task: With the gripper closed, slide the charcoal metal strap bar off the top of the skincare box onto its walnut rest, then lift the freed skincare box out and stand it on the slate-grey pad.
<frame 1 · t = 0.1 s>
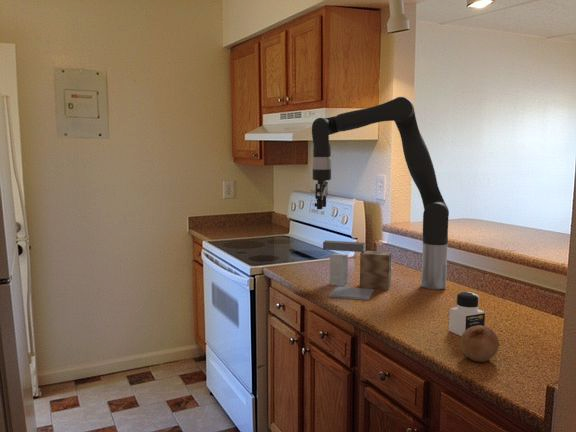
hand: (321, 208, 217), 29 cm above the worktop, tool pointing down, fingers open, 8 cm apart
onion: (478, 359, 138), on the worktop
medicine bottle: (466, 333, 157), on the worktop
strap bar: (344, 246, 208), point 15 cm above the worktop, slide at 0.0 cm
skincare box: (338, 284, 211), on the worktop
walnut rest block: (375, 287, 207), on the worktop
slate pad: (352, 294, 197), on the worktop
teacup: (381, 279, 220), on the worktop
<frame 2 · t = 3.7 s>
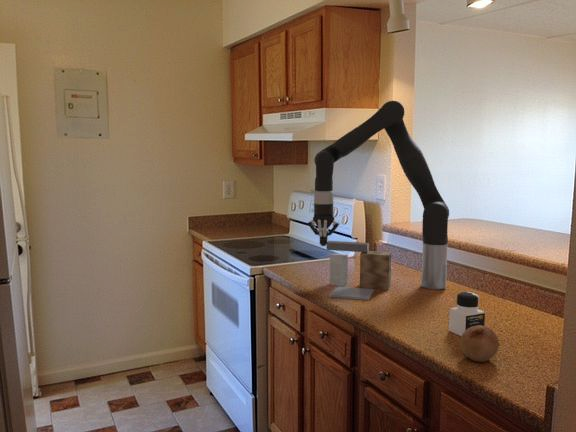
hand: (323, 245, 211), 15 cm above the worktop, tool pointing down, fingers closed
strap bar: (347, 246, 208), point 16 cm above the worktop, slide at 1.5 cm, touching gripper
everything else where it was.
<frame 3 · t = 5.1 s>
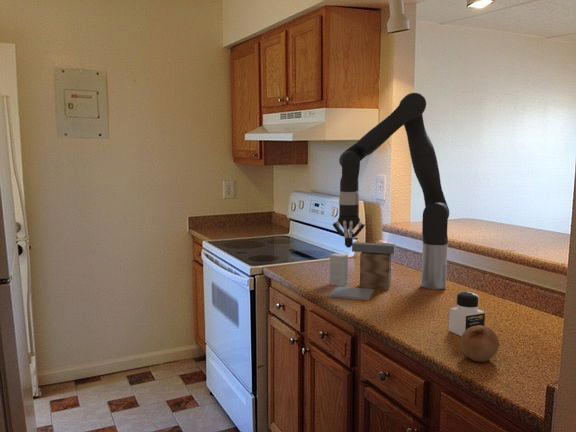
hand: (348, 247, 208), 15 cm above the worktop, tool pointing down, fingers closed
strap bar: (373, 247, 205), point 15 cm above the worktop, slide at 11.6 cm, touching gripper
everything else where it was.
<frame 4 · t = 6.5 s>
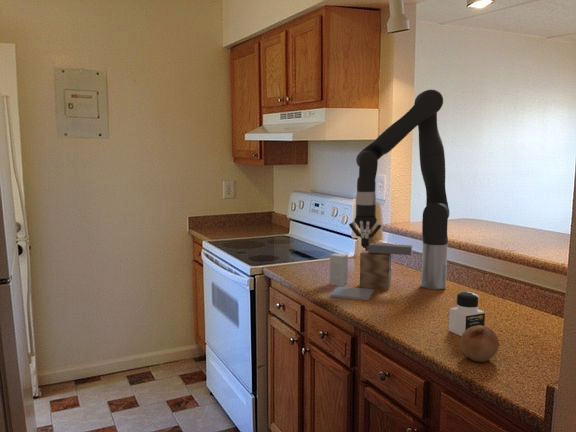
hand: (365, 247, 206), 15 cm above the worktop, tool pointing down, fingers closed
strap bar: (390, 248, 203), point 15 cm above the worktop, slide at 18.0 cm, touching gripper
everything else where it was.
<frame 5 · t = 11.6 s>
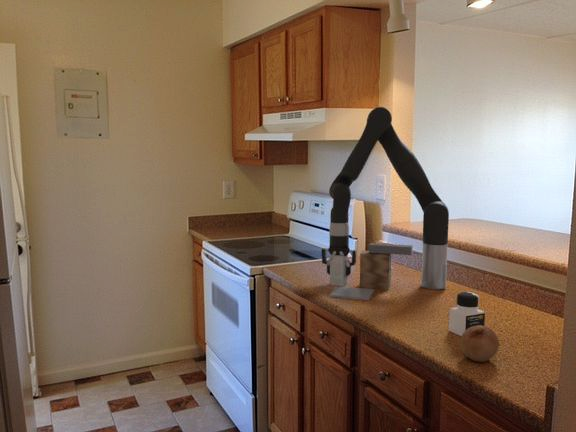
hand: (338, 274, 211), 4 cm above the worktop, tool pointing down, fingers closed on skincare box, 6 cm apart
strap bar: (390, 249, 203), point 15 cm above the worktop, slide at 18.1 cm
skincare box: (338, 284, 211), on the worktop, touching gripper
everything else where it was.
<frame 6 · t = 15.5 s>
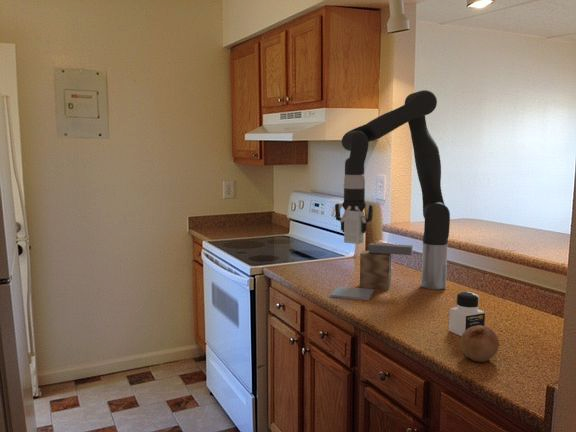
hand: (353, 232, 194), 23 cm above the worktop, tool pointing down, fingers closed on skincare box, 6 cm apart
skincare box: (353, 243, 195), point 19 cm above the worktop, touching gripper
everything else where it was.
when the fingers open (6 cm above the worktop, at t = 19.2 s): skincare box drops 1 cm, resting on slate pad.
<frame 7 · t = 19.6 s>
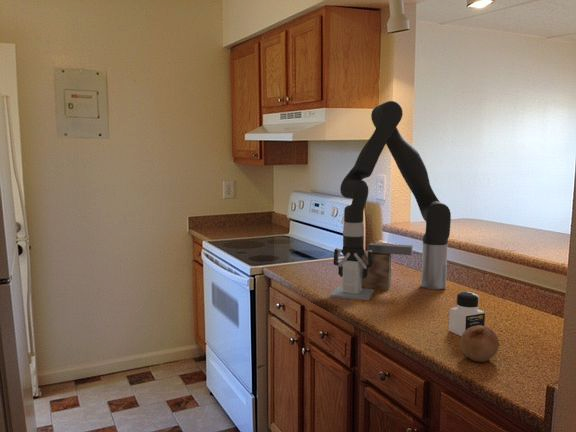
hand: (352, 277, 196), 6 cm above the worktop, tool pointing down, fingers open, 8 cm apart
skincare box: (351, 292, 197), point 1 cm above the worktop, touching slate pad
everything else where it was.
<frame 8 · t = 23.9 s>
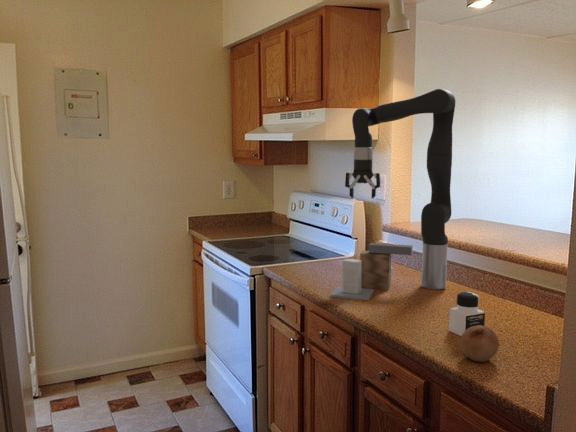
hand: (362, 197, 220), 33 cm above the worktop, tool pointing down, fingers open, 8 cm apart
nothing on the worktop moved.
at the end: strap bar slide at 18.1 cm; skincare box inside the target area on the slate pad (0.2 cm from its centre), point 0.6 cm above the slate pad's base; skincare box tilted 0° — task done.
